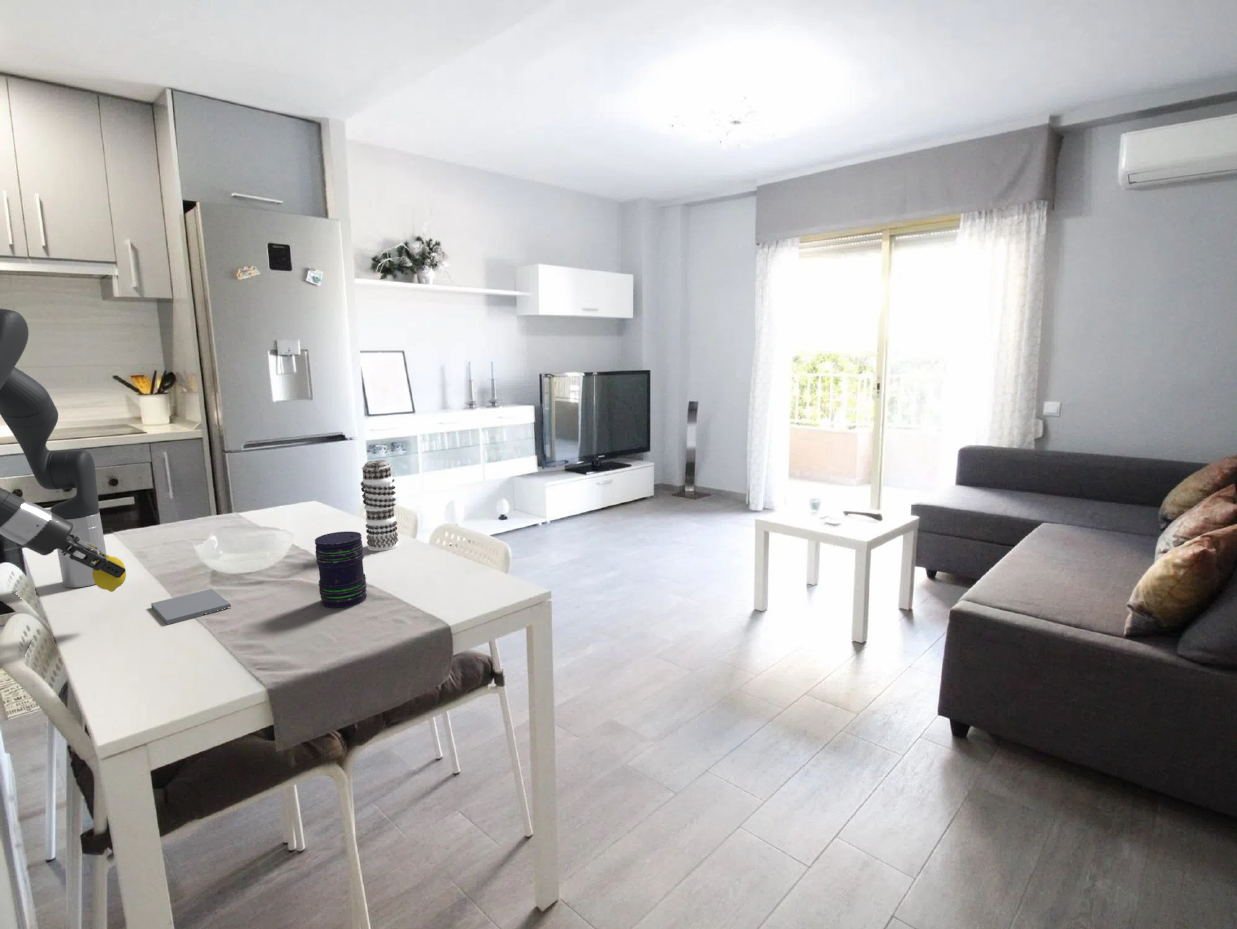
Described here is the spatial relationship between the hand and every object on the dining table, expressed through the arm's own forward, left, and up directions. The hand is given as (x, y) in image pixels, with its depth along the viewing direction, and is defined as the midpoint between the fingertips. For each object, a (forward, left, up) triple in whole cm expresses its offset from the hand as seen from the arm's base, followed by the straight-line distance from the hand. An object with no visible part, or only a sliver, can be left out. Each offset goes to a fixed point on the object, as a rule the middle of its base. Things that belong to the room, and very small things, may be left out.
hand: (119, 570), depth 138 cm
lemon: (0, -2, -5) cm, 5 cm away
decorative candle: (-9, +62, -12) cm, 64 cm away
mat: (+2, +11, -11) cm, 16 cm away
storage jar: (+24, +36, -12) cm, 45 cm away
